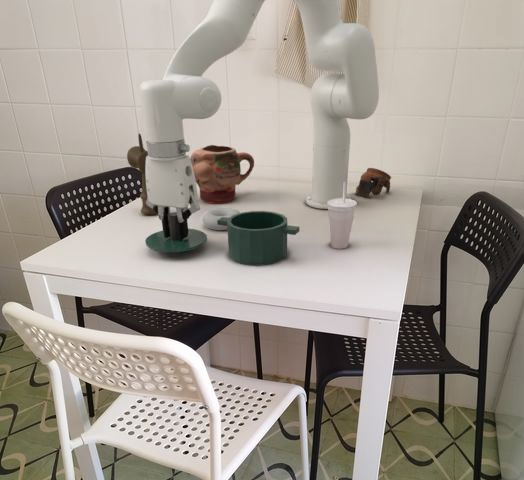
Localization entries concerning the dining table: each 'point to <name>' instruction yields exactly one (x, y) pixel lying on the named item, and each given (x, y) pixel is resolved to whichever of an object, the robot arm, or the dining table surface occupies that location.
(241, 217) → the pot
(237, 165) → the sculpted ceramic jug
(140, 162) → the kendama
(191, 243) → the lid
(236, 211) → the donut
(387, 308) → the dining table surface
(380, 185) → the brown piece
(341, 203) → the smoothie
